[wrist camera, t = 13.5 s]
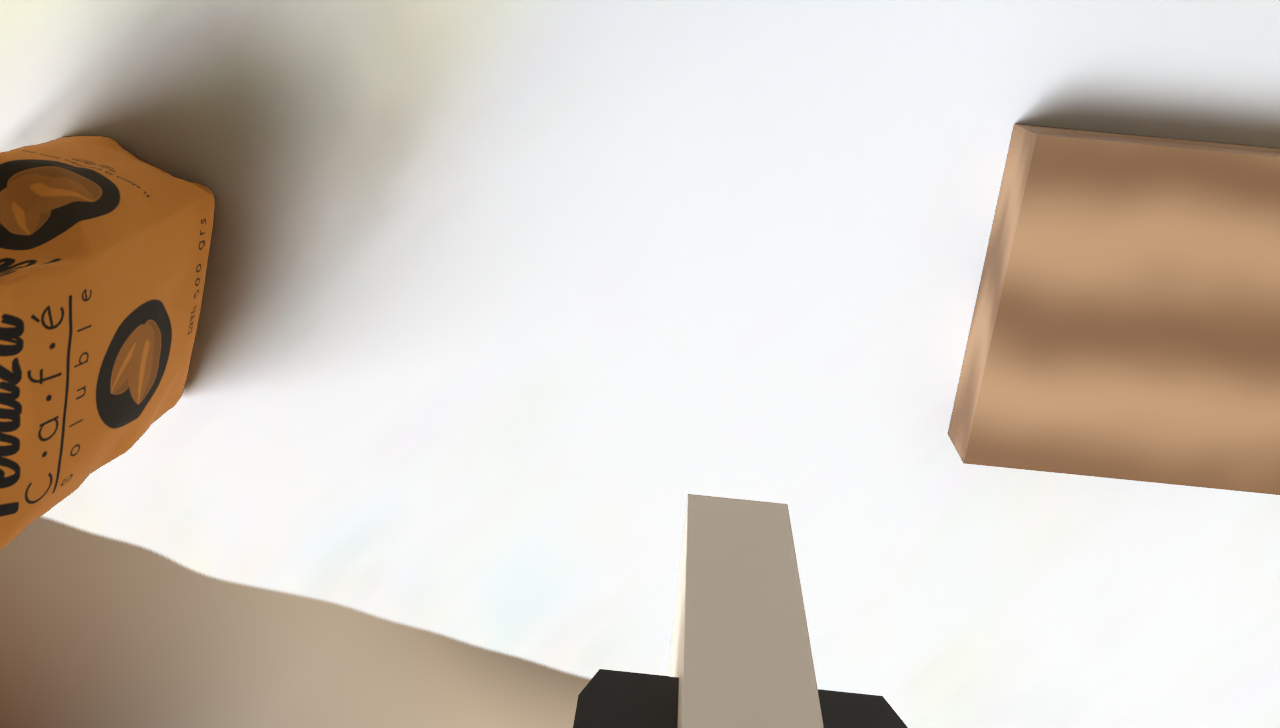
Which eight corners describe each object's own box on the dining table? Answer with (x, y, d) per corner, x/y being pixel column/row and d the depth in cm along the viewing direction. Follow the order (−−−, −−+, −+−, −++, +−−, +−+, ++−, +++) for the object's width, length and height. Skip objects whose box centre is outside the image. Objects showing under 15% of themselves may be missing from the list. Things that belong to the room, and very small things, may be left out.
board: (1014, 124, 41) (1037, 134, 38) (1361, 156, 41) (1409, 169, 38) (947, 433, 46) (963, 463, 43) (1255, 464, 46) (1291, 496, 43)
